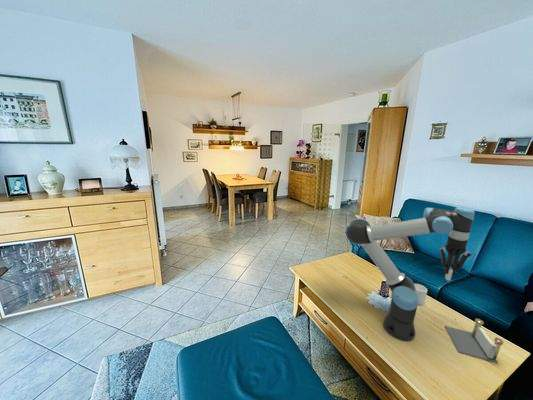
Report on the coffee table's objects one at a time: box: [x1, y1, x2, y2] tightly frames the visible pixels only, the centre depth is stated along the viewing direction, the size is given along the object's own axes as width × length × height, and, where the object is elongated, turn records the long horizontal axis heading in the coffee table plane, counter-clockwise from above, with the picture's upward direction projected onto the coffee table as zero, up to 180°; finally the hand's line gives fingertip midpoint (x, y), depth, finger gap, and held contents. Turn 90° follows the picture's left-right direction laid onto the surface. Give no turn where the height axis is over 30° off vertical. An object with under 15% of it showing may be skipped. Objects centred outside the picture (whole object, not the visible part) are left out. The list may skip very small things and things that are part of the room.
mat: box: [444, 325, 499, 364], centre depth 113 cm, size 15×17×1 cm
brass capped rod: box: [492, 337, 504, 360], centre depth 103 cm, size 3×3×11 cm
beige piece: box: [475, 327, 497, 358], centre depth 108 cm, size 12×2×7 cm, turn 160°
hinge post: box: [471, 317, 485, 339], centre depth 115 cm, size 3×3×11 cm
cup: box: [414, 283, 428, 306], centre depth 142 cm, size 8×12×10 cm
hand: (447, 279), depth 115 cm, fingers closed
